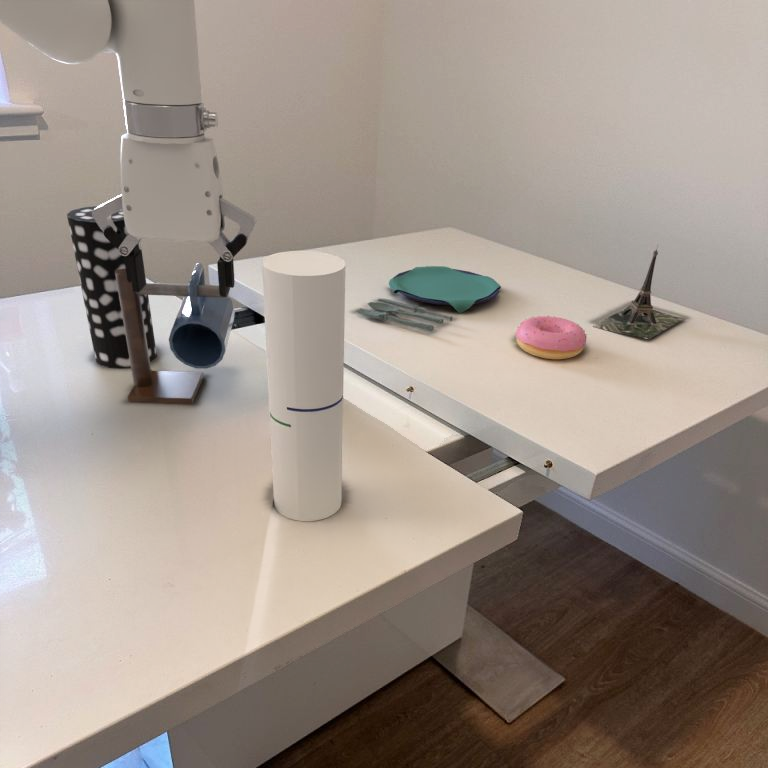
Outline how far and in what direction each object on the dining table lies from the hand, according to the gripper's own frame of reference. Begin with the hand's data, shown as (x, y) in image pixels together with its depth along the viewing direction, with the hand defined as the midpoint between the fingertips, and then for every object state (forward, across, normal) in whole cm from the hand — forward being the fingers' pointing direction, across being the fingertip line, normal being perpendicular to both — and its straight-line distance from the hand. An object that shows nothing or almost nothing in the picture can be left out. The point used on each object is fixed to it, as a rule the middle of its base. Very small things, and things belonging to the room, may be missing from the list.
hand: (182, 291), depth 82 cm
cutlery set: (+15, -33, -45) cm, 58 cm away
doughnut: (+15, -51, -25) cm, 58 cm away
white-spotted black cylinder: (+16, +12, -15) cm, 25 cm away
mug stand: (+16, +2, -5) cm, 16 cm away
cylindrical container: (+16, -16, +19) cm, 29 cm away
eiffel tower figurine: (+15, -69, -38) cm, 80 cm away
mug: (+4, 0, -11) cm, 12 cm away
